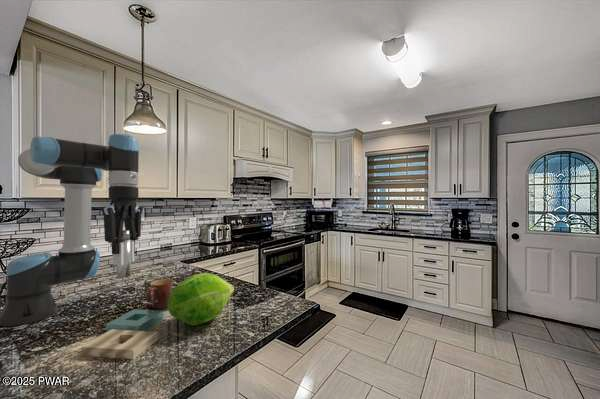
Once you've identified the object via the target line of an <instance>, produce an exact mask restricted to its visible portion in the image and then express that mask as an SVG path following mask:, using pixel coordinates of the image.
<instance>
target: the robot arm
mask: <svg viewBox="0 0 600 399" xmlns="http://www.w3.org/2000/svg"><path fill="white" fill-rule="evenodd" d="M139 151H140V146H139V140H138V138H137V137H135V136H132V135H129V134H122V133H114V134H111V135H109V137H108V142H107V146H106V145H100V144H95V143H87V142H78V141H73V140H67V139H60V138H54V137H50V136H49V137H48V136H47V137H46V136H39V135H38V136H34V137H32V139H31V142H30V147H29V148H27V149H26V150H24V151H22V152H21V153H20V155H19V156H18V159H17V161H18V165H19V167H20V168H21V169H22V170H23V171H24V172H25V173H28V174H29V175H32V176H35V177H38V178H42V179H49V180H59V184H60V186H62V187H63V189H64V207H63V208H64V213H63V215H64V216H63V246H62V247H61V248H59V249H58V253H57V254H55V255H52V253H51V252H42V253H34V254H29V255H25V256H21V257H18V258H15V259H12V260H10V261H9V262H8V264H7V267H6V273H5V276H6V301H5V304H4V306H3V308H2V311H1V312H0V326H1V327H15V326H22V325H27V324H31V323H35V322H39V321H41V320H44V319H47V318H49V317H51V316H54V314H56V313H57V312H58V305H57V303H56V301H55V299H54V296H53V294H52V286H55V285H56V286H57V285H60V284H61V285H62V284H67V283H72V282H76V281H83V280H86V279H91V278H93V277H95V276H96V274H97V272H98V270H99V268H100V263H101V257H100V252H99V251H98V250H96V249H95V248H96V247H95V246H94V245H92V244H91V235H92V234H91V231H92V229H91V227H92V226H91V225H92V197H93V196H92V194H93V191H92V190H93V189H94V188H95V187H97V183H99V182H101V181H102V177H103V171H105V172H108V185H109V187H108V198H109V199H110V200H111V201H110V203H109V205H108V206H107V207H102V208H101V209H100V210H101V213H102V215H103V230H104V232H103V233H104V241H105V242H107V243H108V244H111V253H112V266H117V265H123V243H120V242H121V238H122V231H123V230H130V239H131V263H133V262H135V250H136V241H138V240H139V239H140V237H141V233H142V232H141V231H142V214H143V210H144V208H143V207H142V206H138V205H137V202H136V201H137V200H138V199H139V188H138V186H139V154H140V153H139Z"/></svg>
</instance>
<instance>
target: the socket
mask: <svg viewBox="0 0 600 399" xmlns="http://www.w3.org/2000/svg"><path fill="white" fill-rule="evenodd" d="M163 319H164V310H161V309H137V308H135V309H134V308H133V309H132V310H130V311H128V312H126V313H124V314H122V315H120V316H118V317H117V318H115V319H113V320H111V321H110V322H108V323H106V324H105V333H106V332H108V331H110V330H112V329H114V330H132V331H148V330H150V329H151V328H152V327H153V326H155V325H157V324H158V323H159V322H160V321H162V320H163ZM147 329H148V330H147Z"/></svg>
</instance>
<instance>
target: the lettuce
mask: <svg viewBox="0 0 600 399" xmlns="http://www.w3.org/2000/svg"><path fill="white" fill-rule="evenodd" d="M234 291H235V287H234V286H233V285H232V284H231V283H230V282H228V281H226V280H225V279H223V278H222V277H220V276H218V275H216V274H214V273H210V272H208V273H207V272H206V273H205V272H204V273H203V272H202V273H196V274H193V275H190V276H188V277H187V278H185V279H184V280H183V281H182V282H180V283H179V284H177V285H176V286H175V287H174V289H172V293H171V295H170V296H169V298H168V305H167V309H168V312H169V314H170V315H171V316H172V317H173V318H174V319H176V320H178V321H180V322H183V323H186V324H188V325H190V326H198V325H202V324H204V323H205V324H206V323H208V322H210V321H212V320H214V319H216V318H217V317H218V316H219V315H220V313H221V312H222V311H223V309H224V308H225V306H226V305H227V303H228V302H229V298H230V297H231V296H232V295H233V294H234Z"/></svg>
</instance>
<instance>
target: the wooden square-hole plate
mask: <svg viewBox="0 0 600 399" xmlns="http://www.w3.org/2000/svg"><path fill="white" fill-rule="evenodd" d="M158 339H159V331H148V330H146V331H132V330H114V329H112V330H110V331H108V332H106V331H105V332H104V333H103V334H102V335H99V336H98V337H96V338H95V339H93V340H91V341H89V342H88V343H86V344H84V345H83V346H81V356H82V357H83V356H84V357H95V358H109V359H123V360H135V359H136V358H137V357H138V356H140V355H141V354H142V353H143V352H145V351H146V350H147V349H149V348H150V347H151V346H152V345H154V344H155V343H156V342H157V341H159V340H158Z"/></svg>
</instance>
